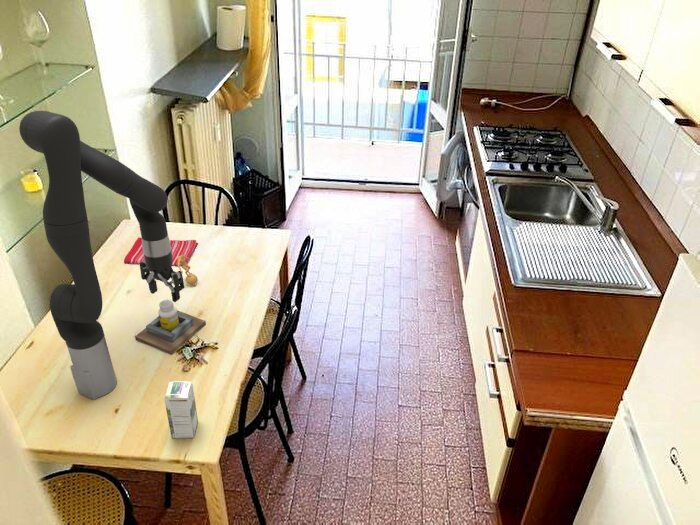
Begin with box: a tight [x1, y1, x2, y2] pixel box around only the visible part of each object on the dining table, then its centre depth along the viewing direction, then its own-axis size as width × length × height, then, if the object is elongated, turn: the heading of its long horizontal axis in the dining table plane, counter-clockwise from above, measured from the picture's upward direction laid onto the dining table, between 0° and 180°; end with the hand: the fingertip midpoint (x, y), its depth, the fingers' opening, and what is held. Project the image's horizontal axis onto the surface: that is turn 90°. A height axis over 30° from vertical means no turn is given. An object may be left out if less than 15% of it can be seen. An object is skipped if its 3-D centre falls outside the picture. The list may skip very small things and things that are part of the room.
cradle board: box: [134, 310, 207, 355], centre depth 175 cm, size 16×14×4 cm
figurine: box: [177, 255, 198, 286], centre depth 195 cm, size 8×6×12 cm
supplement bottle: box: [158, 299, 179, 332], centre depth 173 cm, size 5×5×10 cm
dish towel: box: [123, 236, 199, 267], centre depth 214 cm, size 17×24×3 cm
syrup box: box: [163, 380, 199, 439], centre depth 141 cm, size 6×6×14 cm
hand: (165, 296), depth 168 cm, fingers open, 8 cm apart
